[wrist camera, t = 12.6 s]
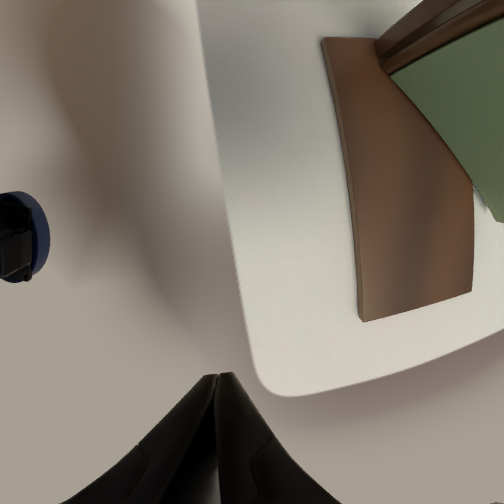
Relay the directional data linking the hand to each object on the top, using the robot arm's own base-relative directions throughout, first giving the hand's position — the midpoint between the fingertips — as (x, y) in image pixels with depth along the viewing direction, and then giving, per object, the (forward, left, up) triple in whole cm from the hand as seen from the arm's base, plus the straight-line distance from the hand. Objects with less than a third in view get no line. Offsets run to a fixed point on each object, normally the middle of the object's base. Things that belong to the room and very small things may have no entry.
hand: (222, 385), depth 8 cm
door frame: (+10, +8, -12) cm, 18 cm away
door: (+13, +10, -11) cm, 20 cm away
